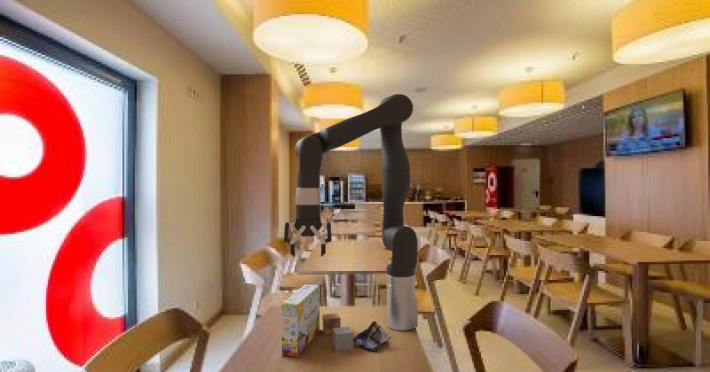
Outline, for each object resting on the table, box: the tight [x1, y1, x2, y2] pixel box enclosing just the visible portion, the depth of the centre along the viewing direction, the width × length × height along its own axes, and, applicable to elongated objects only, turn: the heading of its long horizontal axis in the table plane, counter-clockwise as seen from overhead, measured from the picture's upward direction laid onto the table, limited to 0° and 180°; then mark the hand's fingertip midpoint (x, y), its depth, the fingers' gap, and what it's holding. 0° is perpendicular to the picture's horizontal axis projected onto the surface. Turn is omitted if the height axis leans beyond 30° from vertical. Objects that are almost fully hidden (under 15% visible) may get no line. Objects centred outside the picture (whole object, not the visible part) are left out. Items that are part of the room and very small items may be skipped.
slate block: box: [332, 326, 354, 352], centre depth 127 cm, size 5×5×5 cm
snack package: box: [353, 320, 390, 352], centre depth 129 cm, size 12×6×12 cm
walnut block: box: [321, 312, 342, 336], centre depth 139 cm, size 5×5×5 cm
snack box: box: [280, 284, 321, 358], centre depth 131 cm, size 21×6×15 cm, turn 168°
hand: (307, 256), depth 131 cm, fingers open, 8 cm apart
